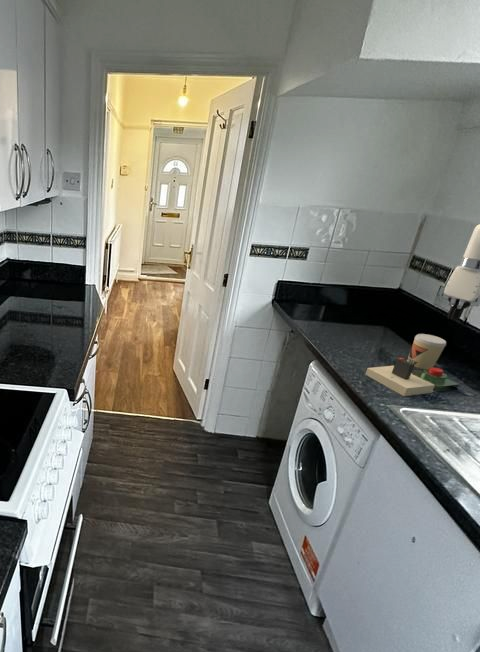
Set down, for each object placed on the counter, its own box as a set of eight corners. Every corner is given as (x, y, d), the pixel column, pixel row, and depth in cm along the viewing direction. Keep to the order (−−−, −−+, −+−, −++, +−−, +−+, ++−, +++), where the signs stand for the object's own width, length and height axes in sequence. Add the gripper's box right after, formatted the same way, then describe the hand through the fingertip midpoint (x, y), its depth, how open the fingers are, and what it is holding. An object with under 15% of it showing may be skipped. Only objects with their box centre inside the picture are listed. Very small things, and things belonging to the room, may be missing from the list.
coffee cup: (398, 360, 160) (410, 332, 154) (424, 363, 159) (437, 335, 153) (411, 371, 151) (424, 342, 146) (439, 375, 150) (453, 345, 145)
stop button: (444, 376, 141) (446, 371, 140) (436, 376, 140) (438, 372, 139) (433, 371, 144) (435, 366, 143) (425, 372, 143) (427, 367, 142)
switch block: (456, 389, 140) (461, 379, 138) (437, 392, 137) (441, 381, 136) (425, 375, 149) (429, 365, 148) (406, 377, 147) (410, 367, 145)
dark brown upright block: (409, 379, 138) (415, 363, 136) (405, 379, 138) (411, 364, 135) (395, 372, 143) (401, 357, 140) (391, 372, 142) (397, 357, 140)
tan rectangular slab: (431, 393, 136) (435, 384, 135) (404, 396, 133) (407, 387, 132) (390, 372, 150) (393, 365, 148) (364, 375, 146) (367, 367, 145)
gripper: (510, 269, 126) (485, 326, 133) (459, 259, 139) (438, 311, 146) (493, 269, 124) (468, 327, 131) (443, 259, 137) (423, 312, 144)
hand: (452, 318), depth 139 cm, fingers closed
